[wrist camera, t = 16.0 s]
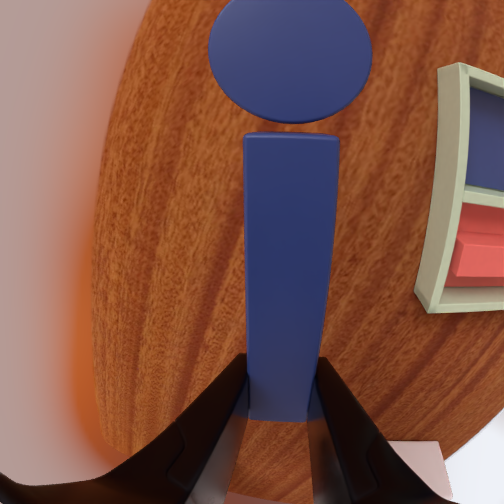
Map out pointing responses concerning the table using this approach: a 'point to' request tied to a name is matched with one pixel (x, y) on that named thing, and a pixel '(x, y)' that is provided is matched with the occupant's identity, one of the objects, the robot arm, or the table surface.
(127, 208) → the table surface
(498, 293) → the cutlery tray
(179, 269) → the table surface
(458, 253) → the spoon coral
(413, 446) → the container
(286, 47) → the spoon navy
